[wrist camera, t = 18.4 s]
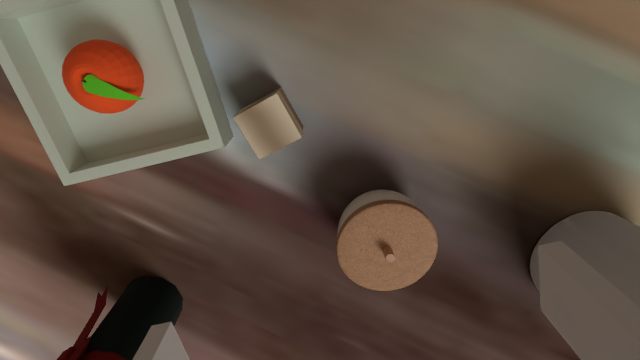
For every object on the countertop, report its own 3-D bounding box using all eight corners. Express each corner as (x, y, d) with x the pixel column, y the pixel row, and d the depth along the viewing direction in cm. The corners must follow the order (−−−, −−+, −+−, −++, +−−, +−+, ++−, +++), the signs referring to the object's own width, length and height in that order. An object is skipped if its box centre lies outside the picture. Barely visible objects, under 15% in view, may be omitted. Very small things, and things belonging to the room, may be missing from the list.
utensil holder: (599, 180, 46) (754, 262, 30) (664, 251, 50) (834, 359, 33) (501, 259, 50) (592, 370, 34) (568, 320, 54) (679, 446, 37)
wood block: (281, 86, 42) (276, 93, 37) (303, 126, 44) (301, 137, 39) (242, 108, 43) (233, 117, 38) (265, 146, 44) (259, 159, 40)
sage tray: (175, -38, 38) (157, -47, 33) (233, 136, 44) (224, 147, 40) (7, 9, 39) (-30, 6, 35) (87, 171, 45) (64, 186, 41)
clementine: (173, 60, 40) (144, 66, 33) (155, 121, 42) (124, 137, 35) (96, 26, 39) (50, 25, 32) (81, 90, 41) (36, 101, 34)
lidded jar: (345, 168, 45) (351, 200, 37) (431, 186, 46) (458, 222, 37) (325, 245, 49) (326, 291, 40) (405, 260, 50) (424, 309, 41)
